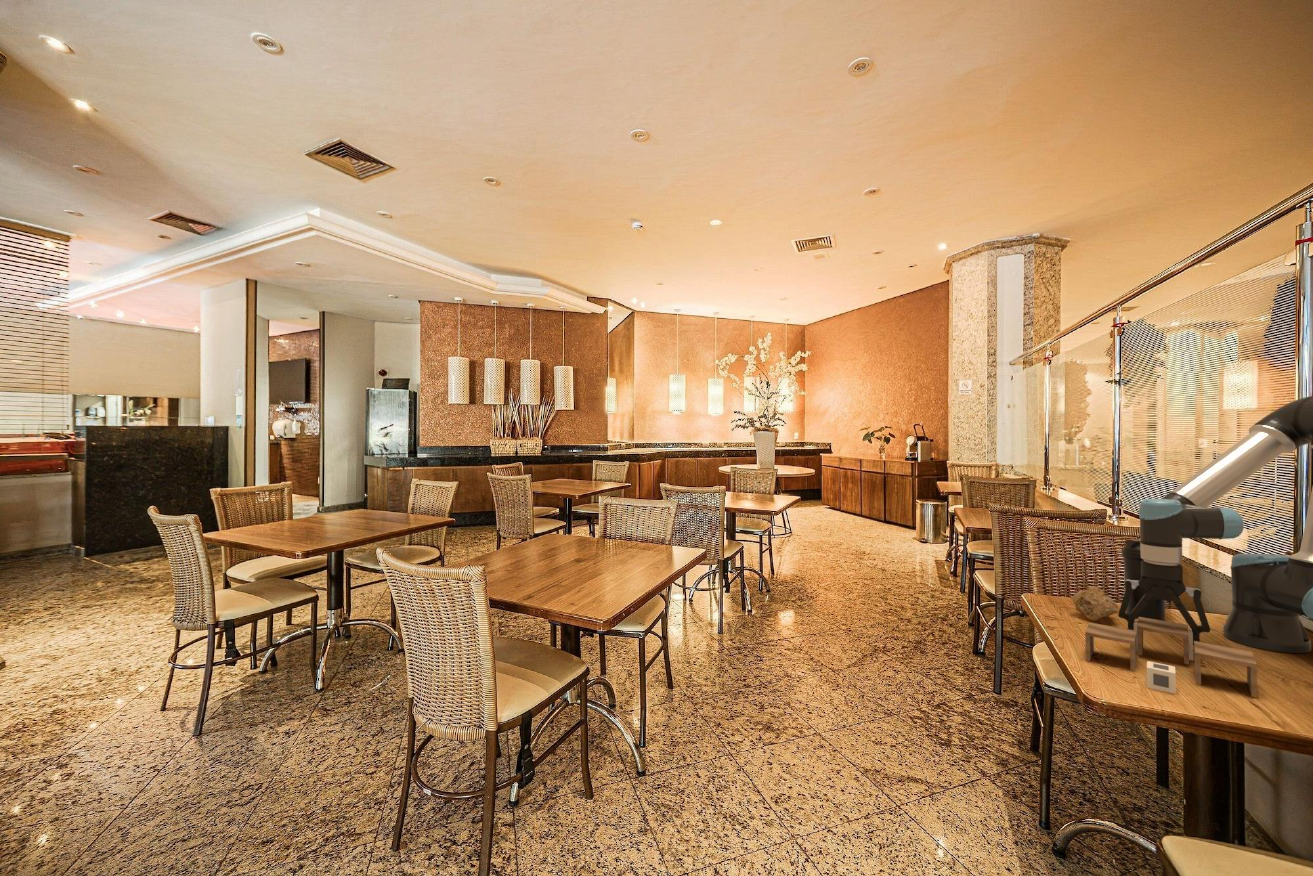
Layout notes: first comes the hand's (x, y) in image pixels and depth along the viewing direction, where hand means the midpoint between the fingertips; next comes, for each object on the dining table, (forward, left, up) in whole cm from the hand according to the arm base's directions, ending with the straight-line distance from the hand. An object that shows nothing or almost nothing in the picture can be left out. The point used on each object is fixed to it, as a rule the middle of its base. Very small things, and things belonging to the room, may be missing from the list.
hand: (1162, 652), depth 132 cm
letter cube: (+10, +19, -1) cm, 21 cm away
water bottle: (-13, -34, -1) cm, 36 cm away
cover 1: (+13, +5, -1) cm, 14 cm away
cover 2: (0, 0, 0) cm, 0 cm away
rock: (+1, -28, -1) cm, 28 cm away
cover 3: (-4, +14, -1) cm, 14 cm away
